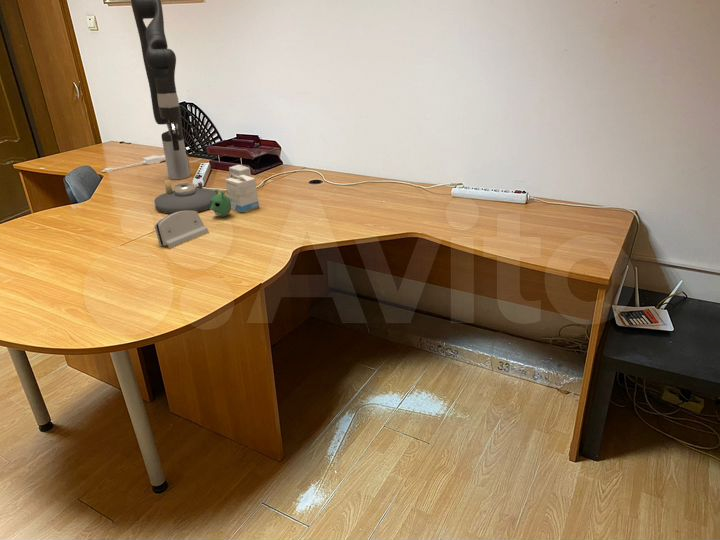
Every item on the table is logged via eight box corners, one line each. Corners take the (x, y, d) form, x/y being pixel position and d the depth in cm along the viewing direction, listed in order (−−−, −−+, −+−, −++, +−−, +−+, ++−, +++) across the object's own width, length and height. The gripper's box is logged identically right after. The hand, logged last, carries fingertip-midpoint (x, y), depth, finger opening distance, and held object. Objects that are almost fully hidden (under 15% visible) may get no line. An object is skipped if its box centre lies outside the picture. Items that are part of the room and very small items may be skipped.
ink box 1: (231, 194, 210) (228, 166, 205) (241, 192, 213) (238, 164, 208) (243, 199, 205) (240, 170, 199) (253, 196, 208) (250, 167, 203)
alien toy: (207, 217, 186) (203, 190, 181) (225, 211, 191) (222, 186, 187) (218, 221, 182) (214, 194, 177) (236, 215, 187) (233, 189, 182)
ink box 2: (259, 207, 195) (256, 173, 189) (241, 213, 189) (237, 178, 183) (246, 203, 200) (242, 169, 194) (228, 208, 194) (223, 174, 189)
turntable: (184, 191, 213) (181, 174, 210) (231, 198, 204) (229, 180, 201) (141, 209, 193) (137, 190, 190) (191, 217, 184) (188, 197, 181)
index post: (201, 192, 213) (199, 182, 211) (204, 193, 212) (202, 182, 210) (198, 193, 211) (197, 183, 209) (201, 194, 211) (200, 183, 209)
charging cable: (101, 174, 246) (99, 167, 244) (164, 159, 265) (162, 153, 263) (104, 176, 242) (102, 169, 241) (168, 161, 262) (167, 154, 260)
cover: (184, 189, 207) (183, 182, 205) (199, 191, 204) (198, 184, 202) (170, 195, 200) (169, 187, 199) (186, 197, 197) (185, 189, 196)
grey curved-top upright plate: (169, 249, 160) (156, 219, 157) (161, 250, 162) (148, 221, 160) (210, 232, 172) (199, 204, 170) (201, 234, 175) (191, 206, 172)
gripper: (157, 103, 199) (165, 147, 207) (159, 108, 188) (168, 154, 196) (177, 102, 202) (184, 146, 209) (180, 106, 191) (188, 152, 199)
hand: (176, 150), depth 203 cm, fingers closed
